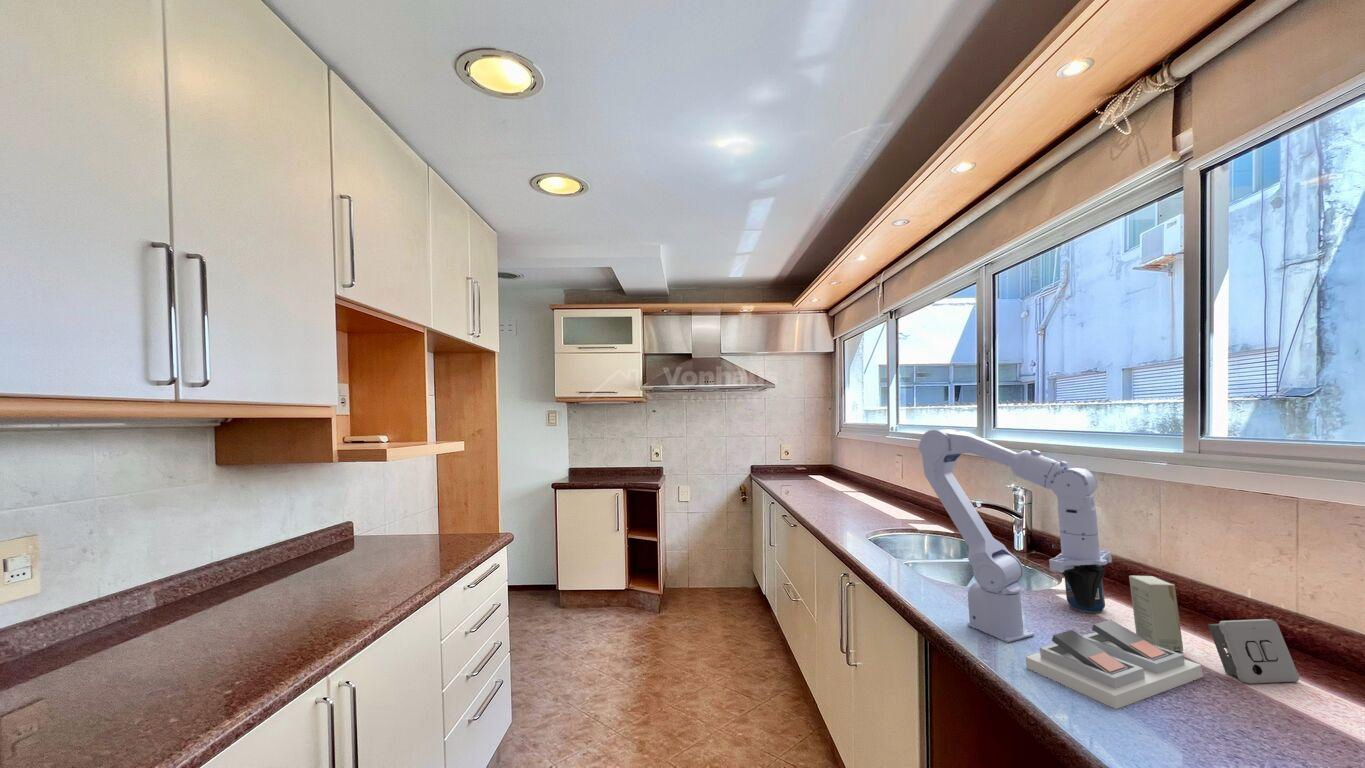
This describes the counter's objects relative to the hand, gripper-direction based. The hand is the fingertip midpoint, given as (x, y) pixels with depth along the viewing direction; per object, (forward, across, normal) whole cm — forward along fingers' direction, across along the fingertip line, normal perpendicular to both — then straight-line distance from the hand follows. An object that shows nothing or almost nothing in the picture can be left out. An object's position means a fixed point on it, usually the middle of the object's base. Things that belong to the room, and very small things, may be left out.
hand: (1085, 605), depth 93 cm
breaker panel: (+9, -2, -5) cm, 11 cm away
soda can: (+10, +24, +15) cm, 30 cm away
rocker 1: (+5, -8, -5) cm, 11 cm away
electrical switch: (+10, +17, -15) cm, 25 cm away
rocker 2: (+5, +3, -5) cm, 8 cm away
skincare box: (+10, +17, -2) cm, 20 cm away
